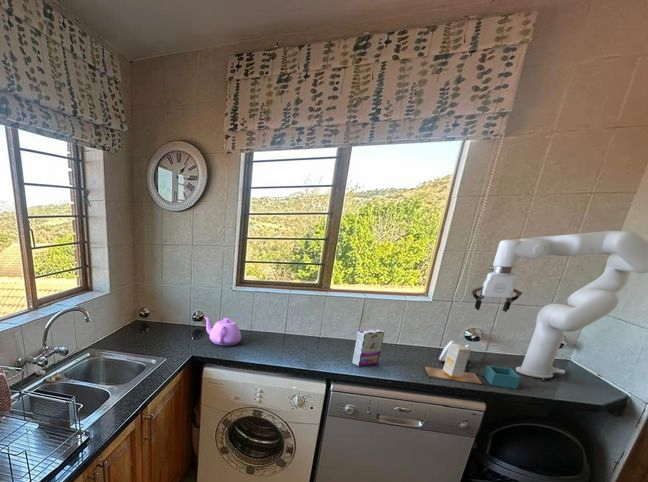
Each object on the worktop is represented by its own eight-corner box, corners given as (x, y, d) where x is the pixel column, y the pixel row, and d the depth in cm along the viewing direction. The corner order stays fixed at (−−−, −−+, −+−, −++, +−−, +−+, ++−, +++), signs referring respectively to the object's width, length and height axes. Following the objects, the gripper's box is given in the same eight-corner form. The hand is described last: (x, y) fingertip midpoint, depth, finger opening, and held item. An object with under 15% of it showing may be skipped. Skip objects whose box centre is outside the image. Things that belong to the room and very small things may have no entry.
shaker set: (438, 363, 194) (444, 341, 190) (435, 360, 198) (441, 338, 194) (467, 365, 191) (474, 343, 187) (463, 363, 195) (470, 341, 191)
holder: (507, 379, 175) (511, 368, 174) (516, 388, 166) (520, 377, 164) (483, 376, 179) (487, 365, 177) (490, 385, 169) (494, 374, 167)
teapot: (208, 335, 238) (209, 312, 233) (244, 339, 229) (246, 316, 224) (195, 344, 220) (196, 320, 215) (234, 350, 211) (237, 324, 206)
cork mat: (474, 374, 181) (474, 373, 181) (481, 384, 170) (482, 383, 170) (424, 367, 188) (425, 366, 188) (428, 376, 178) (429, 375, 177)
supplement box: (462, 378, 175) (471, 349, 170) (450, 377, 176) (459, 348, 171) (453, 371, 182) (462, 344, 177) (441, 370, 183) (450, 343, 178)
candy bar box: (369, 361, 196) (377, 328, 190) (377, 364, 192) (385, 331, 186) (350, 363, 193) (357, 330, 187) (358, 366, 189) (365, 333, 183)
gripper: (480, 270, 170) (468, 310, 177) (532, 272, 163) (518, 313, 170) (475, 268, 177) (464, 307, 183) (525, 270, 170) (512, 310, 176)
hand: (490, 310), depth 176 cm, fingers open, 9 cm apart
